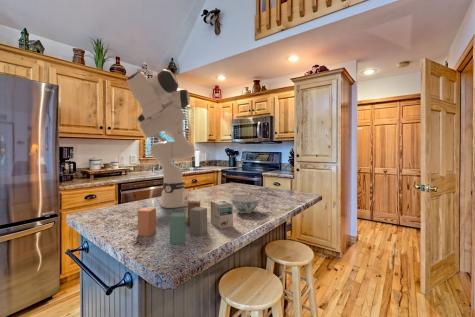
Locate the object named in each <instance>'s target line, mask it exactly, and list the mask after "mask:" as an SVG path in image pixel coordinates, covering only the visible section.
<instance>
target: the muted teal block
mask: <svg viewBox="0 0 475 317" xmlns="http://www.w3.org/2000/svg"><path fill="white" fill-rule="evenodd" d="M186 232H187V230H186V212H171V214H170V215H169V245H174V244H175V245H176V244H184V243H185V242H186Z"/></svg>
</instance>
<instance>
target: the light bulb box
mask: <svg viewBox="0 0 475 317" xmlns="http://www.w3.org/2000/svg"><path fill="white" fill-rule="evenodd" d="M210 224H212V225H214V226H216V228H218V229H219V230H221V229H227V228H228V229H229V228H233V227H234V205H233V202H231V201H228V200H226V199H223V198H220V199H211V200H210Z"/></svg>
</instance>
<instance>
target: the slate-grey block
mask: <svg viewBox="0 0 475 317" xmlns="http://www.w3.org/2000/svg"><path fill="white" fill-rule="evenodd" d="M207 232H208V208H207V207H202V206H200V207H195V208H192V209H190V225H189V233H190V235H196V236H199V237H200V236H203V235H205V233H207Z"/></svg>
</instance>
